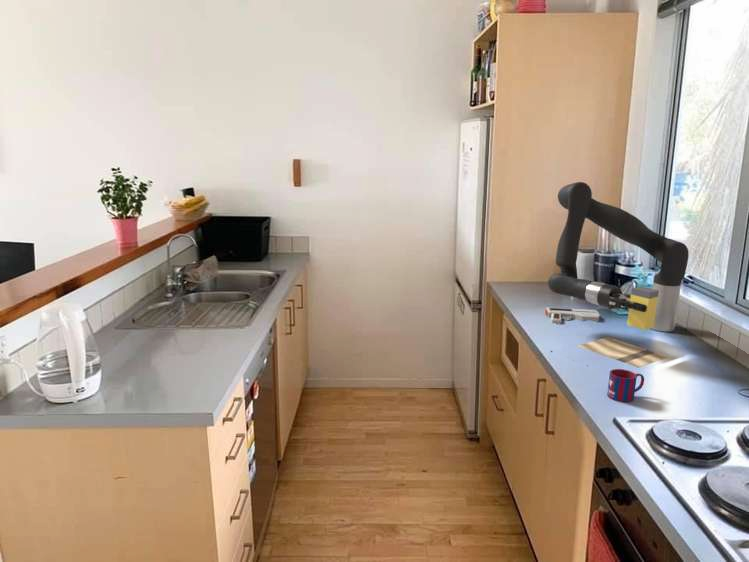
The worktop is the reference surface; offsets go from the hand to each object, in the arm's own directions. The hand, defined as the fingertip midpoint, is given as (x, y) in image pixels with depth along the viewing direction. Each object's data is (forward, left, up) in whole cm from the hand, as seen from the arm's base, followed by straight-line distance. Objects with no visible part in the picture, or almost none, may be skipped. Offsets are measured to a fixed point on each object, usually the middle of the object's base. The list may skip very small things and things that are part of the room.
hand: (650, 307), depth 182 cm
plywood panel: (0, -7, -18) cm, 19 cm away
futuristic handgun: (-19, -41, -19) cm, 48 cm away
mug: (+29, +13, -18) cm, 36 cm away
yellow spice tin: (0, -3, -7) cm, 7 cm away
